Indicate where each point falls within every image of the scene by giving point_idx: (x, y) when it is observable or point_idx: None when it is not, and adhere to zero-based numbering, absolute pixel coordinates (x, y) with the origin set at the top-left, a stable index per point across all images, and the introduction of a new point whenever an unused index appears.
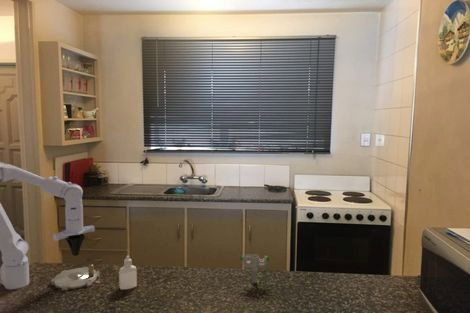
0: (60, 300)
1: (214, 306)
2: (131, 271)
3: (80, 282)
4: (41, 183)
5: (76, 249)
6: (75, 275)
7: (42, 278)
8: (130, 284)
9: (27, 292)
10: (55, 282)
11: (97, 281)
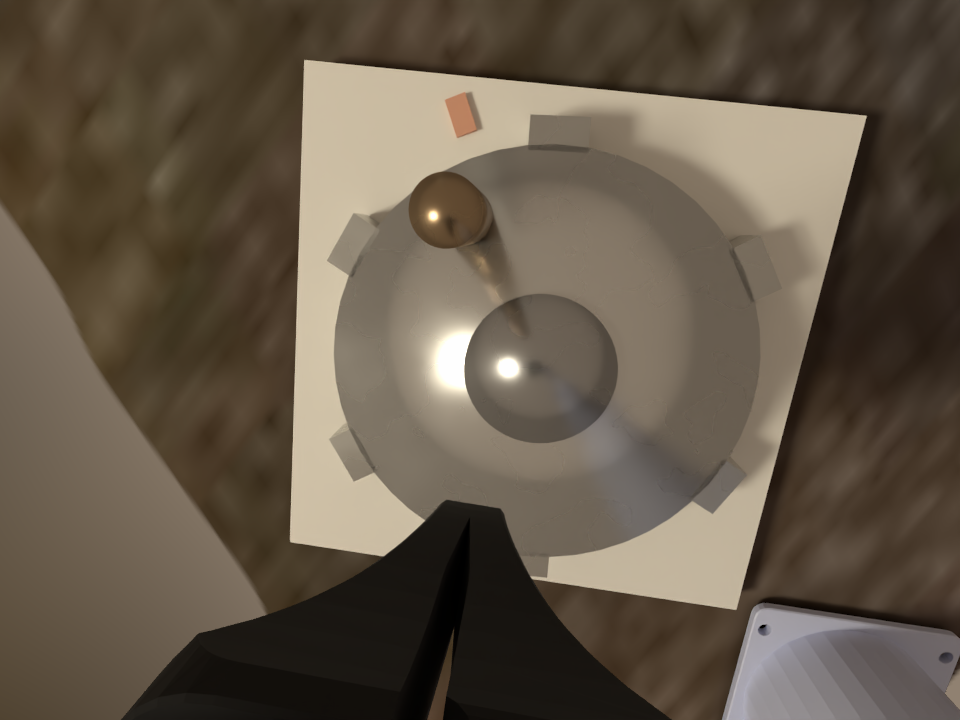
0: (858, 169)
1: None
2: None
3: (631, 182)
4: None
5: (481, 553)
6: (550, 366)
7: (621, 663)
8: None
9: (859, 553)
10: (744, 420)
11: (456, 128)
